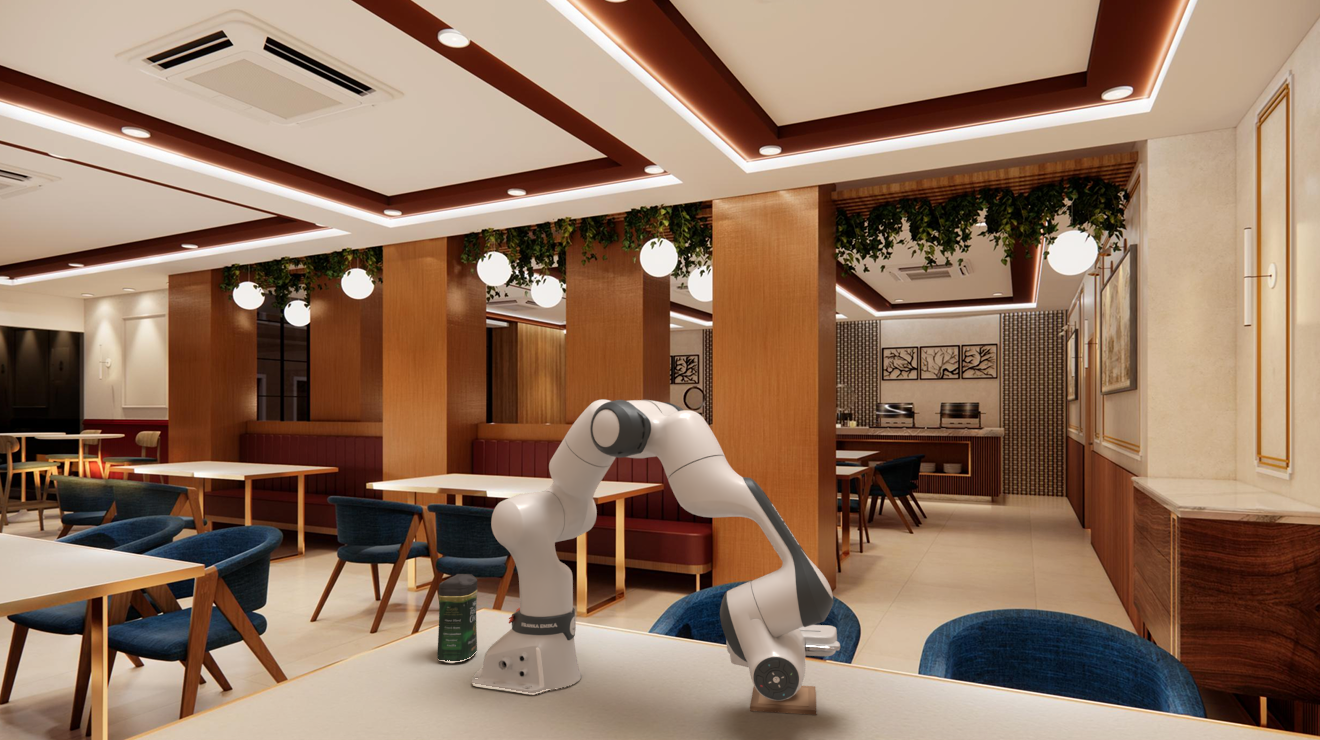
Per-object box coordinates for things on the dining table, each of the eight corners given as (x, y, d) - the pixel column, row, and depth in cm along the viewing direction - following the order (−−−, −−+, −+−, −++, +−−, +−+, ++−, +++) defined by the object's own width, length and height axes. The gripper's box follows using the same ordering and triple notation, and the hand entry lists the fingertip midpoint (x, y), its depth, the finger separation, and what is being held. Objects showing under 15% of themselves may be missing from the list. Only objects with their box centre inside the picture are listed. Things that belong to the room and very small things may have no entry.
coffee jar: (467, 665, 162) (467, 580, 163) (432, 665, 163) (433, 580, 164) (481, 651, 172) (482, 571, 173) (449, 651, 172) (449, 571, 174)
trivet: (750, 710, 135) (750, 705, 135) (754, 687, 146) (754, 682, 146) (816, 714, 132) (816, 709, 132) (815, 690, 144) (815, 685, 144)
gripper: (840, 631, 125) (836, 611, 139) (721, 626, 129) (729, 606, 143) (841, 669, 125) (837, 644, 138) (722, 663, 129) (729, 639, 142)
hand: (781, 625), depth 141 cm, fingers closed on sauce bottle, 6 cm apart
